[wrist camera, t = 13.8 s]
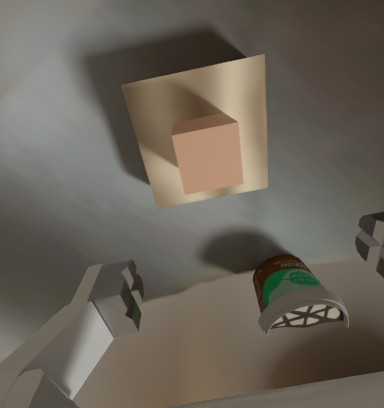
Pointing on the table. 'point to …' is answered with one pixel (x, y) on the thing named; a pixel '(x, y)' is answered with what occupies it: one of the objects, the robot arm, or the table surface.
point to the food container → (294, 296)
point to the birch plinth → (195, 108)
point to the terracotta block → (208, 153)
